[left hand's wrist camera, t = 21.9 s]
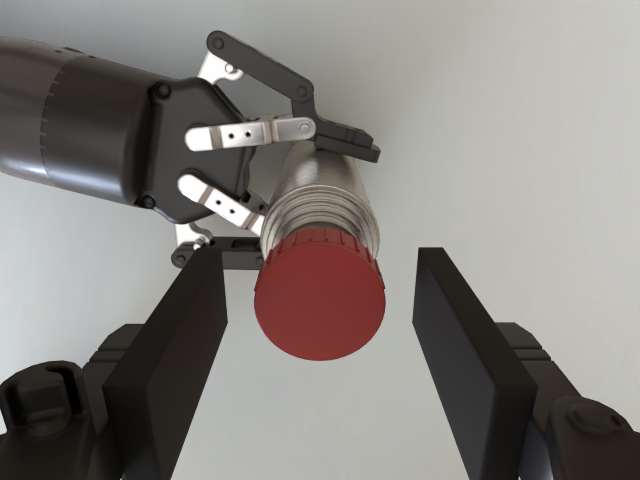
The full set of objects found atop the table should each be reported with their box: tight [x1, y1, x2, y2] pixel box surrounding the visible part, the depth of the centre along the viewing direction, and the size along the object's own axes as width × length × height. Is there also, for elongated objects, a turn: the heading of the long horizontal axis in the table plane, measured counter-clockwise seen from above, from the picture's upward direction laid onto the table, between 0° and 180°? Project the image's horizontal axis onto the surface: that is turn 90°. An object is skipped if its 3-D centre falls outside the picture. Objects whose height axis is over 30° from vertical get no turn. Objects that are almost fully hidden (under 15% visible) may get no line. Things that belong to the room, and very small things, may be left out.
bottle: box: [260, 140, 380, 261], centre depth 23 cm, size 5×5×20 cm
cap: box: [254, 227, 386, 361], centre depth 14 cm, size 4×4×2 cm
